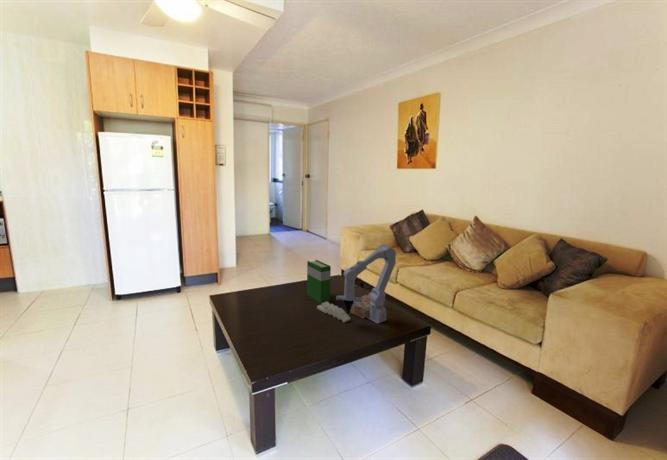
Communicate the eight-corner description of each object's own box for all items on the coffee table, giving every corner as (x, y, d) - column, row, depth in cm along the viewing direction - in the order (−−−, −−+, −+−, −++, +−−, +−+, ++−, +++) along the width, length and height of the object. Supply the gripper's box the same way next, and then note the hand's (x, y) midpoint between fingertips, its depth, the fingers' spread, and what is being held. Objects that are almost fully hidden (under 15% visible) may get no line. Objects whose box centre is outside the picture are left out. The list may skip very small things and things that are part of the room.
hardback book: (307, 294, 221) (307, 261, 217) (316, 292, 226) (316, 259, 221) (320, 303, 207) (321, 267, 203) (329, 300, 211) (330, 266, 207)
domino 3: (341, 313, 189) (332, 303, 194) (335, 315, 186) (326, 305, 191) (340, 315, 190) (331, 305, 195) (334, 317, 187) (325, 307, 192)
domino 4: (345, 315, 186) (336, 305, 192) (339, 318, 183) (330, 307, 188) (345, 317, 187) (335, 307, 192) (339, 320, 184) (329, 309, 189)
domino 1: (332, 309, 195) (322, 304, 201) (326, 311, 192) (317, 306, 198) (332, 311, 195) (322, 306, 202) (326, 313, 192) (317, 308, 199)
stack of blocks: (367, 293, 209) (383, 298, 201) (367, 302, 210) (383, 307, 202) (347, 302, 193) (363, 308, 185) (347, 312, 194) (363, 318, 186)
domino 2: (336, 311, 192) (327, 301, 197) (330, 313, 189) (321, 303, 194) (335, 313, 193) (326, 303, 198) (329, 315, 190) (320, 305, 195)
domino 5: (350, 318, 183) (341, 307, 188) (344, 320, 180) (335, 309, 185) (349, 320, 184) (340, 309, 189) (343, 322, 181) (334, 311, 186)
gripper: (363, 288, 180) (362, 311, 183) (338, 286, 183) (337, 308, 185) (361, 293, 173) (360, 316, 176) (335, 290, 176) (335, 313, 179)
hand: (348, 312), depth 180 cm, fingers closed
